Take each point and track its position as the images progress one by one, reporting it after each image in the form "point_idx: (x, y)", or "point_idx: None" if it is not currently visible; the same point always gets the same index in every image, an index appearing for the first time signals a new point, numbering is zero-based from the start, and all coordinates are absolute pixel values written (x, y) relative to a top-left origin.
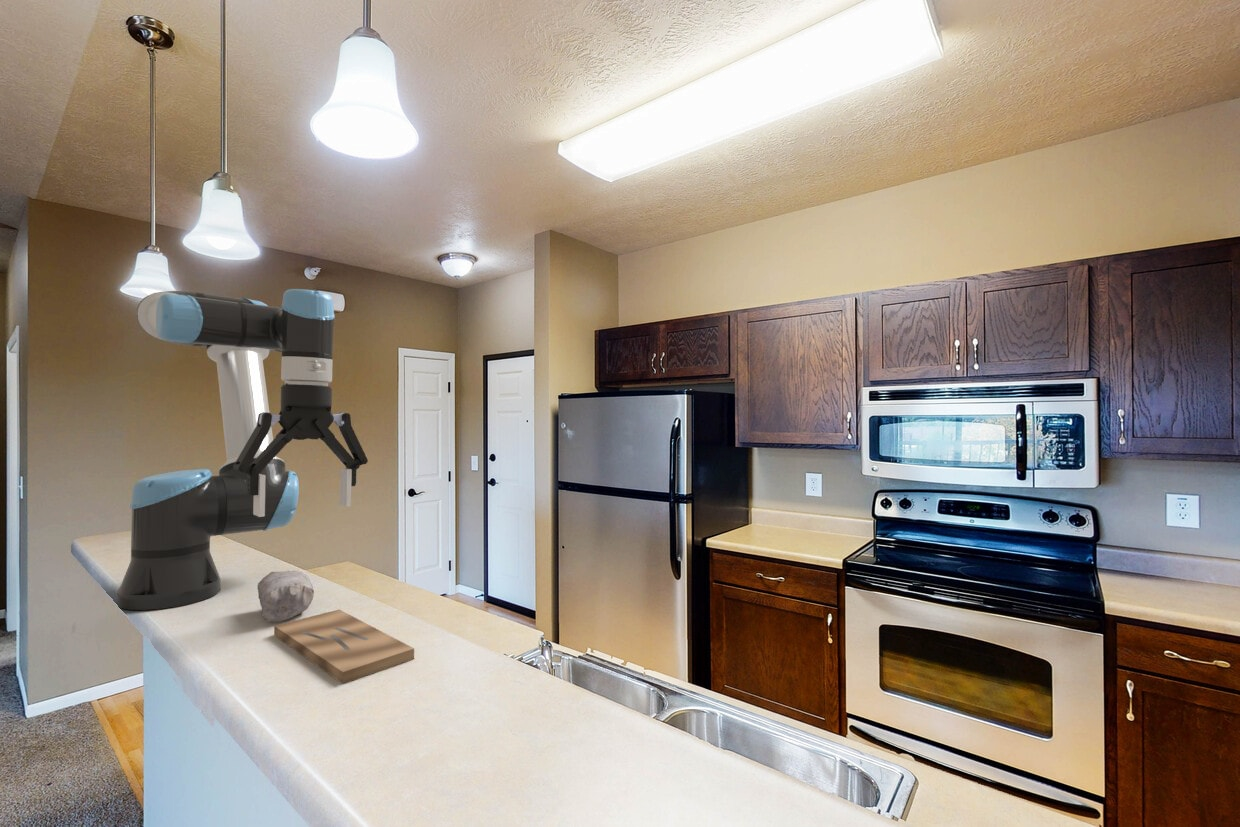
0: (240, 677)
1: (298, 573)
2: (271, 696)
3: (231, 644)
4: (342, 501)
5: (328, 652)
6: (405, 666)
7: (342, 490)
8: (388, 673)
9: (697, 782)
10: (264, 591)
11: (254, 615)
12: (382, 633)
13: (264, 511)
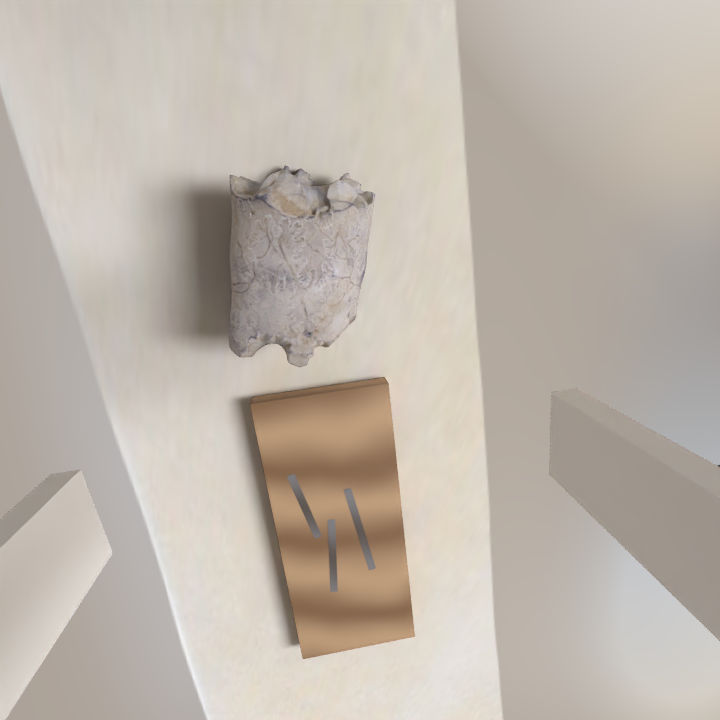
0: (181, 551)
1: (337, 233)
2: (214, 630)
3: (175, 395)
4: (564, 437)
5: (304, 587)
6: None
7: (616, 475)
8: None
9: None
10: (234, 295)
11: None
12: (403, 557)
13: (96, 574)
